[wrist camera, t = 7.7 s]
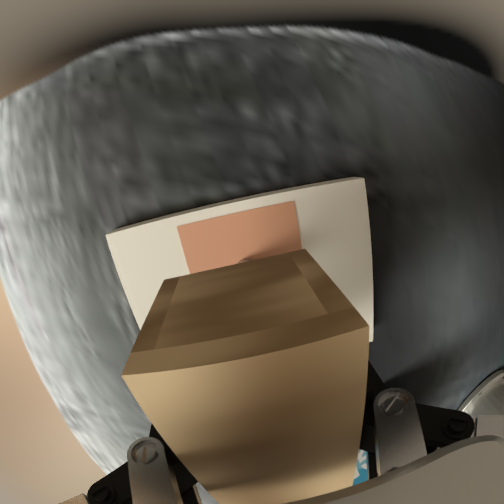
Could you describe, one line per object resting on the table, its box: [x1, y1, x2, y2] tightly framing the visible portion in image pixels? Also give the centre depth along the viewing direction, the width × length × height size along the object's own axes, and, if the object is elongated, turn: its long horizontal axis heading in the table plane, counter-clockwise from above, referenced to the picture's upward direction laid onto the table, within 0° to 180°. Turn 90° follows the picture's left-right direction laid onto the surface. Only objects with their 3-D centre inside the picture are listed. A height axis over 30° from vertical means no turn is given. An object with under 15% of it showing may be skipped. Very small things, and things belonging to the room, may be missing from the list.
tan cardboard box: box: [121, 249, 369, 504], centre depth 9 cm, size 5×9×5 cm, turn 11°
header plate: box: [106, 177, 373, 342], centre depth 18 cm, size 16×12×2 cm
